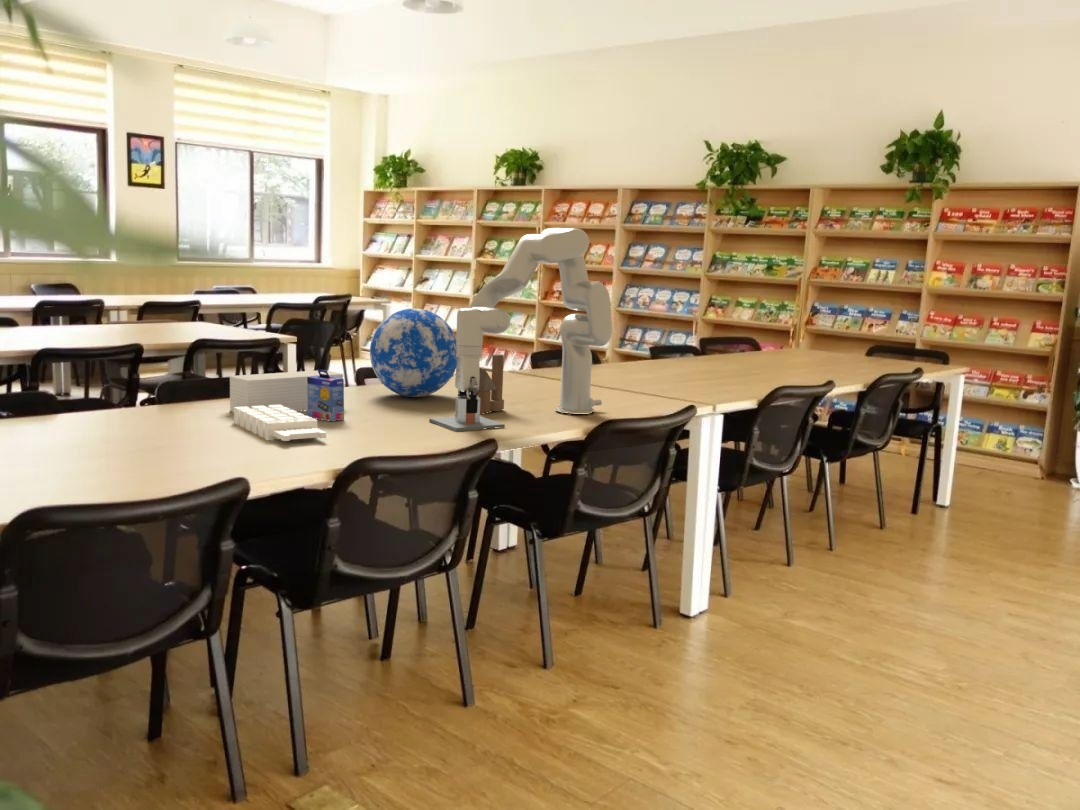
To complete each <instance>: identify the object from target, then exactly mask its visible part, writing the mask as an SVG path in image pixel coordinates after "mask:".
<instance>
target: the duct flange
mask: <svg viewBox="0 0 1080 810" xmlns="http://www.w3.org/2000/svg"><path fill="white" fill-rule="evenodd" d="M428 421H429V423H431V422H432V423H431V424H434V423H435V424H434V425H437V426H439V425H440V427H442V426H443V427H442V428H446V429H448V430H450V429H451V430H450V431H454V432H456V431H457V432H467V430H470V431H477V430H476V429H482V430H485V429H484V428H495V427H506V424H505V423H502V422H499V421H496V420H492V419H490V418H488V417H487V418H486V417H483V416H481V415H480V422H478V423H458V422H456V421H455V416H449V417H448V416H447V417H446V416H445V417H433V418H432V417H431V418H429V420H428ZM495 429H496V428H495Z"/></svg>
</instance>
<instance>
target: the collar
mask: <svg viewBox="0 0 1080 810" xmlns="http://www.w3.org/2000/svg"><path fill="white" fill-rule="evenodd" d="M466 399H468V397H467V396H458V395H457V396H455V410H454V411H455V413H454V417H455V421H456V422H458V423H478V422H480V416H481V414H480V398H479V397H478V407H477V413H466Z"/></svg>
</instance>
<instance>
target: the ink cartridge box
mask: <svg viewBox="0 0 1080 810" xmlns="http://www.w3.org/2000/svg"><path fill="white" fill-rule="evenodd" d="M317 370H318V373H319V375H317V376H309V377H307V390H308V391H307V393H308V411H307V416H309V417H312V418H311V419H313V418H317V419H316V420H319V419H323V420H322V421H324V420H329V421H333V422H336V421H335V420H338V421H344V420H345V396H344V395H345V388H344V387H345V384H344V382H345V381H344V380H345V379H344V377H342V378H337V377H330V376H329V374H328V372H327V371H328V370H326V369H316V371H317ZM320 372H324V373H326V374H321V373H320ZM343 419H344V420H343ZM329 421H328V422H329Z"/></svg>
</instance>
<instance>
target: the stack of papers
mask: <svg viewBox="0 0 1080 810" xmlns="http://www.w3.org/2000/svg"><path fill="white" fill-rule="evenodd" d="M326 371H327V372H328V374H329V376H330V377H337V378H344V374H343V373H340V372H335V371H329V370H326ZM320 373H321V374H326V373H324V372H320ZM317 375H319V373H318V370H317V369H316V370H305V371H302V370H301V371H289V372H288V371H287V372H275V373H274V372H273V373H272V372H271V373H270V372H269V373H256V374H242V375H241V374H239V375H229V405H230V406H229V412H231V411H232V413H234V407H245V406H247V407H249V408H251V406H266V407H268V405H282V406H284V407H287V408H289V409H291V410H294V411H301V410H308V393H307V391H308V390H307V377H309V376H317ZM301 412H302V411H301Z"/></svg>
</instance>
